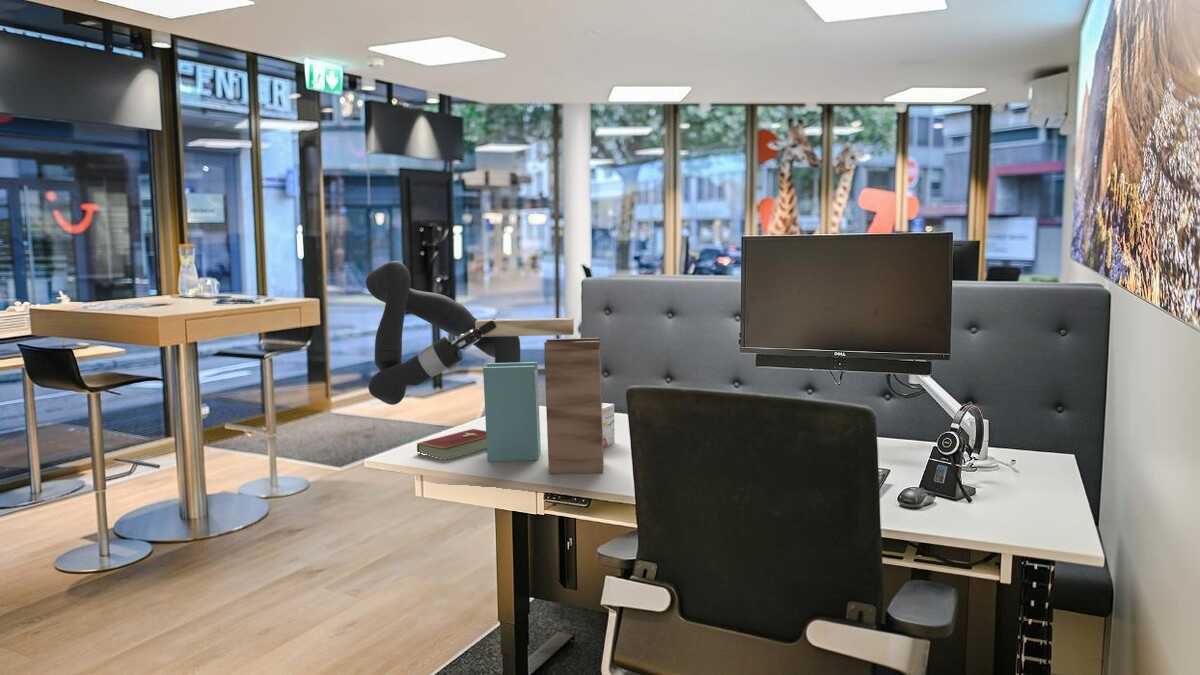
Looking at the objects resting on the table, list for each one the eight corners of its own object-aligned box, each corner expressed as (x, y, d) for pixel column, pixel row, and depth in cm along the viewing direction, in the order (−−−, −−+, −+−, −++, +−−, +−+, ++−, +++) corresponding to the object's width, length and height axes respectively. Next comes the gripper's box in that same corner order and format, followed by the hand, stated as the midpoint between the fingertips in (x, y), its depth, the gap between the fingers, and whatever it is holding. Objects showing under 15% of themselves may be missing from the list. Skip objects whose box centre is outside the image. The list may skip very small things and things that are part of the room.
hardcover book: (417, 456, 246) (416, 441, 246) (472, 441, 262) (472, 427, 262) (444, 462, 239) (443, 447, 238) (500, 446, 255) (499, 432, 254)
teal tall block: (491, 453, 245) (487, 363, 241) (540, 452, 244) (537, 362, 241) (487, 461, 237) (483, 367, 233) (538, 460, 236) (534, 366, 233)
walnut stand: (551, 463, 232) (547, 338, 228) (603, 462, 232) (599, 337, 228) (548, 474, 222) (543, 343, 218) (603, 472, 222) (599, 342, 218)
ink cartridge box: (600, 449, 246) (599, 398, 244) (586, 447, 248) (584, 397, 247) (615, 442, 253) (614, 393, 251) (601, 441, 256) (599, 392, 254)
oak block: (478, 335, 225) (477, 319, 225) (573, 333, 225) (573, 317, 224) (475, 336, 221) (475, 321, 221) (573, 335, 221) (572, 319, 220)
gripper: (426, 347, 217) (484, 312, 215) (437, 340, 231) (491, 307, 229) (442, 373, 217) (500, 338, 216) (452, 364, 232) (506, 331, 230)
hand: (495, 322), depth 223 cm, fingers closed on oak block, 4 cm apart
